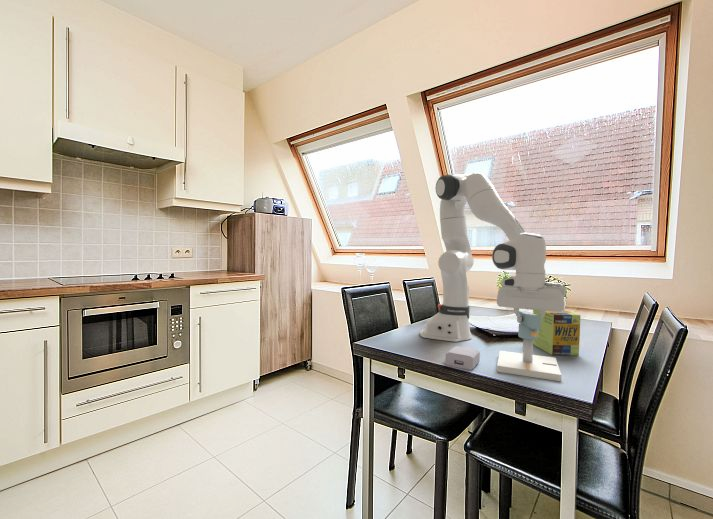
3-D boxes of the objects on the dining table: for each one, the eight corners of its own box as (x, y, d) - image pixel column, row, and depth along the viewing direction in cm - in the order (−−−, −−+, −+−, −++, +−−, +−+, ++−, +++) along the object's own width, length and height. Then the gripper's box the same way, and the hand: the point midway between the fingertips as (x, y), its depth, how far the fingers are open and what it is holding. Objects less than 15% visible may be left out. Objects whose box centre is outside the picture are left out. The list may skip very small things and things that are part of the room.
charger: (483, 358, 125) (472, 370, 113) (458, 354, 131) (445, 365, 118) (484, 345, 125) (473, 356, 113) (458, 341, 130) (445, 351, 118)
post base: (497, 371, 112) (497, 341, 112) (499, 355, 128) (500, 329, 128) (561, 381, 104) (562, 348, 104) (555, 363, 121) (556, 335, 120)
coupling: (512, 333, 121) (513, 310, 121) (529, 333, 121) (530, 310, 121) (526, 341, 111) (527, 316, 111) (545, 341, 111) (546, 316, 111)
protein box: (552, 355, 130) (553, 314, 129) (531, 343, 145) (532, 307, 144) (579, 355, 130) (581, 314, 129) (556, 344, 145) (557, 307, 145)
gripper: (566, 282, 112) (565, 325, 112) (499, 279, 123) (498, 317, 124) (566, 284, 107) (564, 328, 107) (496, 280, 118) (495, 320, 118)
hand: (528, 322), depth 115 cm, fingers closed on coupling, 4 cm apart
